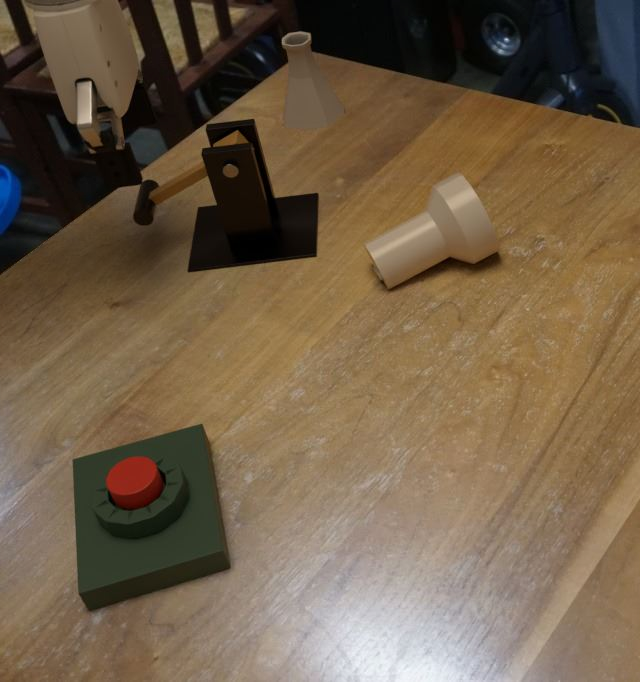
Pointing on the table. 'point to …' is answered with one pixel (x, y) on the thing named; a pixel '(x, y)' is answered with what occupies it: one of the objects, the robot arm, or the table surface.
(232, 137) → the hammer
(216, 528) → the control box
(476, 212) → the spotlight
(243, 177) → the bracket
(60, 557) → the table surface
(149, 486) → the button
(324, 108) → the flask
